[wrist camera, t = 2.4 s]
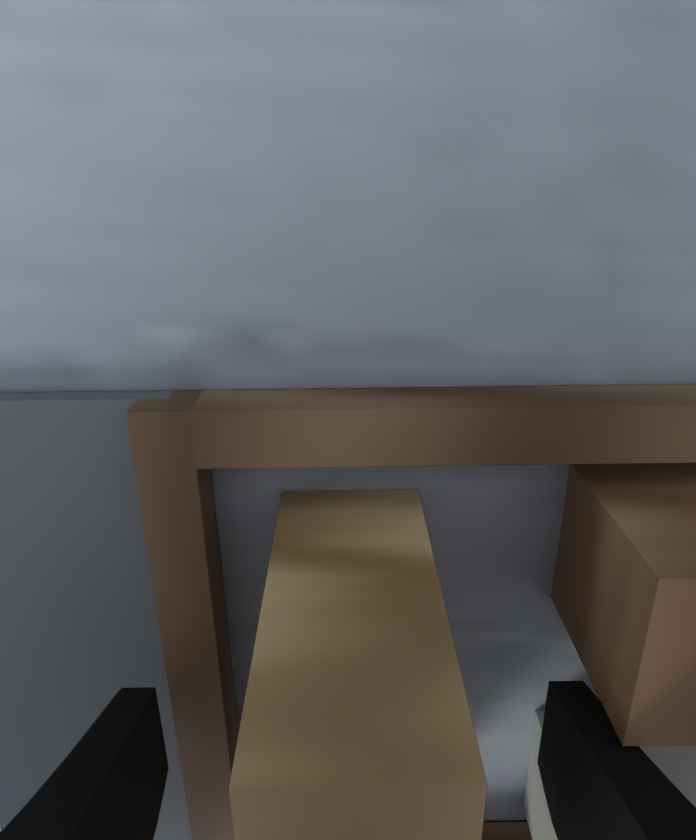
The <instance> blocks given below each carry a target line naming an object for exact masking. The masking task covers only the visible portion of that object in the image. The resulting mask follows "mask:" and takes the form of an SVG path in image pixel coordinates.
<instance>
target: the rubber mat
mask: <svg viewBox="0 0 696 840" xmlns="http://www.w3.org/2000/svg"><path fill="white" fill-rule="evenodd" d="M172 392H173V391H97V392H16V393H0V824H1V827H2V830H3V829H4V828H5V827H6V825H7V824H8V823H9V822H10V821H11V820H12V819H13V818H14V817H15V816H16V814H17V813H18V812H19V811H20V810H21V809H22V808H23V807H24V806H25V805H26V803H27V802H28V801H29V800H30V799H31V798H32V797H33V795H34V794H35V793H36V792H37V791H38V790H39V788H40V787H41V786H42V785H43V784H44V782H45V781H46V780H47V779H48V778H49V776H50V775H51V774H52V773H53V772H54V771H55V769H56V768H57V767H58V766H59V765H60V763H61V762H62V761H63V760H64V759H65V757H66V756H67V755H68V754H69V753H70V751H71V750H72V749H73V748H74V746H75V745H76V744H77V743H78V741H79V740H80V739H81V738H82V736H83V735H84V734H85V733H86V731H87V730H88V729H89V728H90V726H91V725H92V724H93V723H94V721H95V720H96V719H97V717H98V716H99V715H100V714H101V712H102V711H103V710H104V708H105V707H106V706H107V705H108V703H109V702H110V701H111V699H112V698H113V697H114V696H115V694H116V693H117V692H118V691H119V690H120V689H121V688H136V687H155V688H156V694H157V700H158V706H159V712H160V718H161V724H162V730H163V736H164V742H165V748H166V754H167V760H168V766H169V769H168V774H167V779H166V784H165V789H164V794H163V800H162V804H161V809H160V814H159V818H158V823H157V828H156V831H155V835H154V838H153V840H192V835H191V828H190V822H189V816H188V809H187V803H186V796H185V790H184V783H183V777H182V771H181V764H180V758H179V751H178V745H177V738H176V732H175V726H174V719H173V713H172V706H171V700H170V693H169V687H168V681H167V674H166V668H165V661H164V655H163V648H162V642H161V636H160V629H159V623H158V616H157V610H156V603H155V597H154V591H153V584H152V578H151V571H150V565H149V558H148V552H147V546H146V539H145V533H144V526H143V520H142V513H141V507H140V501H139V494H138V488H137V481H136V475H135V468H134V462H133V456H132V449H131V443H130V436H129V430H128V423H127V417H126V412H127V411H128V409H129V408H130V407H131V406H132V405H133V404H134V402H135V401H136V400H137V399H168V398H169V396H170V395H171V394H172Z"/></svg>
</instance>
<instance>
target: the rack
mask: <svg viewBox="0 0 696 840" xmlns="http://www.w3.org/2000/svg"><path fill="white" fill-rule="evenodd" d="M126 417H127V423H128V430H129V436H130V443H131V449H132V456H133V462H134V468H135V475H136V481H137V488H138V494H139V501H140V507H141V513H142V520H143V526H144V533H145V539H146V546H147V552H148V558H149V565H150V571H151V578H152V584H153V591H154V597H155V603H156V610H157V616H158V623H159V629H160V636H161V642H162V648H163V655H164V661H165V668H166V674H167V681H168V687H169V693H170V700H171V706H172V713H173V719H174V726H175V732H176V738H177V745H178V751H179V758H180V764H181V771H182V777H183V783H184V790H185V796H186V803H187V809H188V816H189V822H190V828H191V835H192V840H235V838H234V829H233V821H232V812H231V804H230V795H229V785H230V779H231V773H232V768H233V762H234V757H235V751H236V745H237V740H238V734H239V733H238V724H237V714H236V704H235V695H234V685H233V675H232V666H231V656H230V646H229V637H228V627H227V617H226V608H225V598H224V589H223V579H222V569H221V560H220V550H219V540H218V531H217V521H216V511H215V502H214V492H213V482H212V473H211V469H232V468H309V467H386V466H463V465H540V464H617V463H694V462H696V384H664V385H583V386H502V387H421V388H340V389H259V390H178V391H173V392H172V394H171V395H170V396H169V398H168V399H137V400H136V401H135V402H134V404H133V405H132V406H131V407H130V408H129V409H128V411H127V412H126ZM695 746H696V745H695ZM481 840H532V837H531V833H530V830H529V826H528V823H527V822H483V829H482V838H481Z"/></svg>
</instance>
